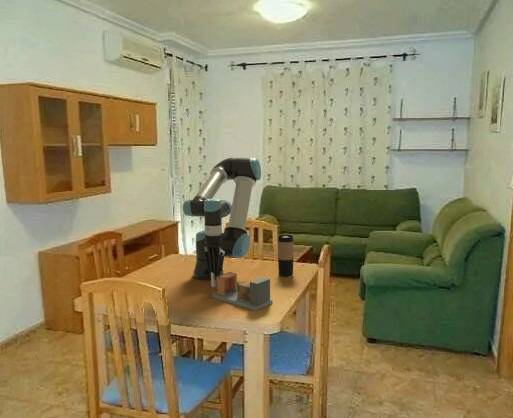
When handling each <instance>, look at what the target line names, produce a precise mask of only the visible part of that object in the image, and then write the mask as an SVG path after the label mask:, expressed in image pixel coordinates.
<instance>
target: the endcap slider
mask: <svg viewBox="0 0 513 418" xmlns="http://www.w3.org/2000/svg"><path fill="white" fill-rule="evenodd" d="M237 284H238V276H237V273H235V272H231V271H229V272H226V273H223V274H222V275H219V276H216V287H215V291H216V292H215V293H216V294H219V295H222V296H224V295H225V291H227V290H233V291H237Z"/></svg>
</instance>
